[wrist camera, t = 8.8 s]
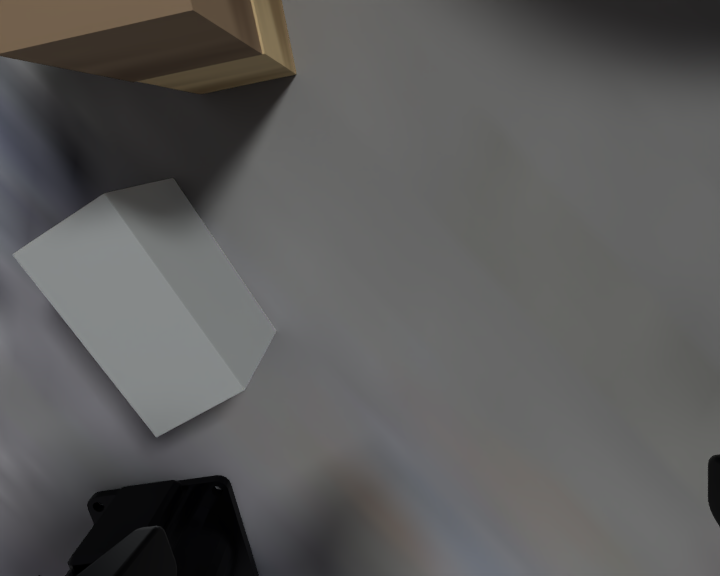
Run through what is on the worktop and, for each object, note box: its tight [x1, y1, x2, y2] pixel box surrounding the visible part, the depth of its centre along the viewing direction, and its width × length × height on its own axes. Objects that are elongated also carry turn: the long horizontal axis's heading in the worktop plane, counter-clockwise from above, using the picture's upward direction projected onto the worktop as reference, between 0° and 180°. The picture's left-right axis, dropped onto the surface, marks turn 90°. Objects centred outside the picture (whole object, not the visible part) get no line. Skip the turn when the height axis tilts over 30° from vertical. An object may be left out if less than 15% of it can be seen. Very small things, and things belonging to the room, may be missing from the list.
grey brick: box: [12, 178, 276, 437], centre depth 18 cm, size 7×4×5 cm, turn 31°
